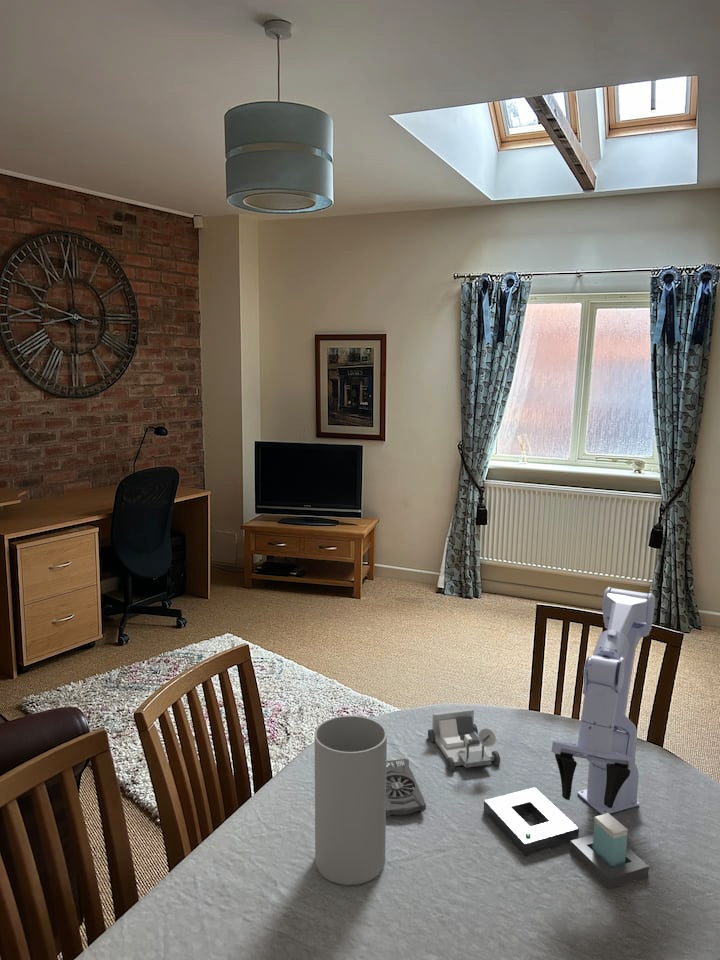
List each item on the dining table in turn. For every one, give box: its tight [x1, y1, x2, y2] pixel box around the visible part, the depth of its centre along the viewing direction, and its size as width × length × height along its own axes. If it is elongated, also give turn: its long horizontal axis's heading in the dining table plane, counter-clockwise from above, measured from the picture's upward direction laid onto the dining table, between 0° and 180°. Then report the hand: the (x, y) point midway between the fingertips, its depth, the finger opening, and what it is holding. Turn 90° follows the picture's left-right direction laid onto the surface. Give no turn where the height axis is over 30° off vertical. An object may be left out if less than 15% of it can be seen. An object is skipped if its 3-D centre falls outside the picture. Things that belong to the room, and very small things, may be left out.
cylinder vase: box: [314, 715, 388, 886], centre depth 128 cm, size 12×12×25 cm
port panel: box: [483, 787, 580, 857], centre depth 140 cm, size 12×14×3 cm
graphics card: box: [386, 756, 427, 817], centre depth 150 cm, size 17×4×12 cm
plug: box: [593, 813, 629, 868], centre depth 129 cm, size 3×5×8 cm, turn 22°
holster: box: [569, 833, 650, 890], centre depth 130 cm, size 8×10×2 cm
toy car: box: [427, 707, 501, 772], centre depth 164 cm, size 18×10×12 cm
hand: (586, 802), depth 129 cm, fingers open, 7 cm apart
